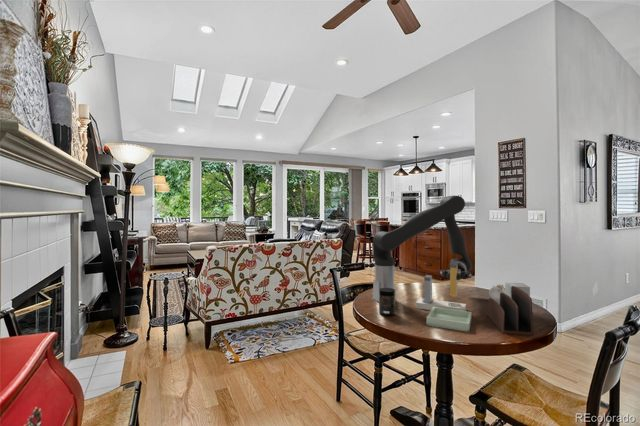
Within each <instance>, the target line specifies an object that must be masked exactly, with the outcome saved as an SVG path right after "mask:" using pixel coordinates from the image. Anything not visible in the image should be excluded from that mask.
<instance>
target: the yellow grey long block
mask: <svg viewBox="0 0 640 426" xmlns="http://www.w3.org/2000/svg"><path fill="white" fill-rule="evenodd" d="M449 267H450V279H449V296H450V297H453V298H457V295H458V280H456V275H457V274H458V262H451V263H450V262H449Z"/></svg>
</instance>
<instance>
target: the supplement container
mask: <svg viewBox="0 0 640 426" xmlns="http://www.w3.org/2000/svg"><path fill="white" fill-rule="evenodd" d="M378 312H379V314H380V315H381V316H384V317H393V316H394V315H395V314H396V289H395V288H394V289H392V288H380V289H379V302H378Z"/></svg>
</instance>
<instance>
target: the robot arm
mask: <svg viewBox="0 0 640 426" xmlns="http://www.w3.org/2000/svg"><path fill="white" fill-rule="evenodd" d="M465 205H466V202H465V199H464V197H462V196H460V195H448V196H444V197H442V198H441V200H440V201H439V205H437V206H435V207H431V208H428V209H425V210H422V211H420V212H417V213H415V214H414V215H412V216H411V217H409V218H408V219H407V220H406V221H405V222H404V223H403V224H402V225H401V226H400V227H398V228H396V229H393V230H391V231H381V230H380V231H377V232H376V233H375V234H374V236H373V239H372V251H373V253H372V256H373V260H374V279H373V282H372V286H373V287H372V290H373V291H372V292H373V293H372V296H373V297H372V298H373V299H374V301H376V302H378V303H379V289H380V288H392V289H395V259H394V257H393V256H392V254H391V251H394V250H395V249H397V248H398V247H400V246H401V245H402V244H404V243H405V242H407V241H409V240H410V239H412V238H414V237H416V236H417V235H420V234H421V233H424V232H425V231H427V230H429V229H430V228H432V227H434V226H436V225H437V224H439V223H441V222H442V221H444V224H445V226H446V230H447V234H448V239H449V246H450V251H451V253H452V254H453V255H457V256H461V257H459V258H452V259H450V261H449V264H450V263H451V262H458V274H457V275H456V280H457V281H460V280H468V279H471V278H472V271H471V270H473V269H472V268H473V264H472V261H471V259H470V257H469V255H468V253H467V249H466V243H465V238H464V235H463V233H462V230H461V229H460V227H459V225H458V223H457V221H456V215H457V214H459V213H461V212H462V211H463V210H464V208H465V207H466V206H465ZM439 271H440V274H439V275H440V276H442V278H443V277H444V278H447V279H448V280H450V266H449V267H448V268H447V269H442V268H441V269H440V270H439Z"/></svg>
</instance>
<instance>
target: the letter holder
mask: <svg viewBox="0 0 640 426" xmlns="http://www.w3.org/2000/svg"><path fill="white" fill-rule="evenodd" d="M511 295H512V299H511V298H510V297H509V296H508V295H506V294H505V293H502V292H501V293H500V305H499V304H498V303H497V302H496V301H495V300H494V299H492V298H490V297H488V300H487V301H488V302H487V316H488V317H489V319H490V320H491V321H492V323H494V325H495V326H496V327H497V328H498V330H500V331H501V333H503V334H509V335H510V334H511V335H524V336H533V335H534V315H533V300H532V297H531V295H530V296H529V295H528V294H527V293H525V292H524V291H523V290H521V289H519V288H517V287H515V286H512V287H511Z"/></svg>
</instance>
